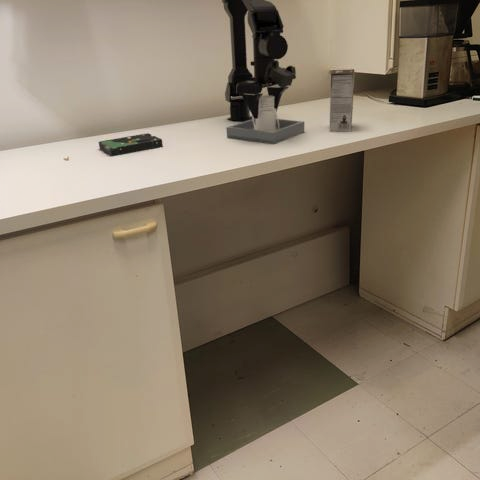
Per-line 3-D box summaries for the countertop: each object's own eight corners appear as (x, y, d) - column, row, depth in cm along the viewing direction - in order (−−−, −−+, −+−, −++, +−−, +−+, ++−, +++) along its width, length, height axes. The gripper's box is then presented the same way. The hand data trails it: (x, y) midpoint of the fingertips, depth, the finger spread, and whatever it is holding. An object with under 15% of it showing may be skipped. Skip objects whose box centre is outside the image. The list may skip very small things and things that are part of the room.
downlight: (248, 133, 137) (248, 97, 133) (256, 128, 143) (257, 94, 138) (274, 136, 134) (275, 99, 130) (282, 131, 140) (283, 95, 136)
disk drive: (149, 142, 140) (99, 150, 133) (148, 132, 139) (97, 140, 132) (163, 149, 132) (111, 158, 125) (162, 139, 131) (109, 147, 124)
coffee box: (330, 125, 147) (331, 69, 140) (351, 124, 145) (354, 68, 139) (329, 131, 139) (330, 73, 132) (351, 131, 137) (354, 72, 130)
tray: (259, 126, 149) (259, 117, 148) (304, 132, 140) (304, 121, 138) (227, 137, 138) (226, 127, 136) (273, 144, 128) (273, 132, 127)
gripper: (268, 60, 119) (270, 124, 125) (307, 54, 132) (307, 112, 138) (233, 60, 125) (236, 120, 132) (274, 53, 138) (274, 109, 145)
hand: (265, 115), depth 136 cm, fingers open, 9 cm apart
